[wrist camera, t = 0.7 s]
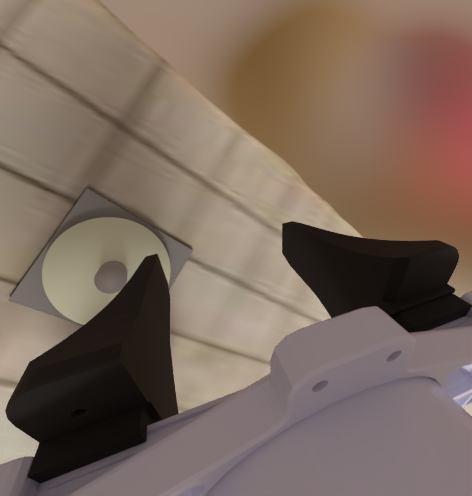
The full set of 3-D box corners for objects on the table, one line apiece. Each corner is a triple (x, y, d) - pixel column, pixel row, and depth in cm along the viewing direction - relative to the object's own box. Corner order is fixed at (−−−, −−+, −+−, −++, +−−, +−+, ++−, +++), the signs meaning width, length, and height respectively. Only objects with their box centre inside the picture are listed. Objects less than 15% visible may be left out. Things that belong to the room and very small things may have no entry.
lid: (135, 338, 29) (135, 355, 25) (16, 297, 23) (-5, 311, 20) (187, 251, 30) (195, 255, 27) (89, 194, 25) (81, 190, 21)
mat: (136, 341, 29) (136, 343, 29) (10, 298, 23) (8, 300, 23) (192, 250, 31) (192, 250, 31) (87, 188, 25) (86, 188, 25)
